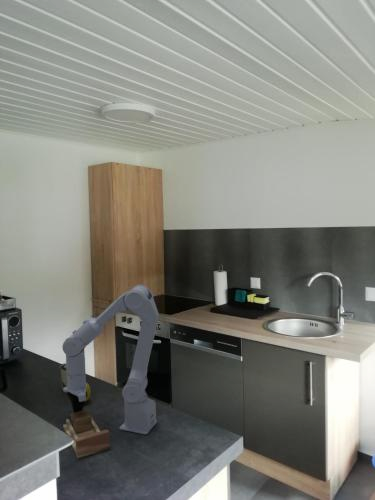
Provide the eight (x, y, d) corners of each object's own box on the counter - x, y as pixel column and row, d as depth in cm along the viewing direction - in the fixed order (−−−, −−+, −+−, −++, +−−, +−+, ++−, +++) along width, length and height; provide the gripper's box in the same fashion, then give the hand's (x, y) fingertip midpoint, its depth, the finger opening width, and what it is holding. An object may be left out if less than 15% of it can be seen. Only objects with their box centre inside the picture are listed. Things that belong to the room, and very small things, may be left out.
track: (63, 427, 119) (62, 412, 119) (91, 419, 124) (91, 404, 123) (77, 458, 103) (77, 441, 103) (109, 448, 108) (109, 431, 107)
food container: (92, 393, 142) (91, 367, 141) (77, 399, 138) (76, 372, 137) (75, 384, 151) (73, 359, 150) (60, 389, 146) (59, 364, 145)
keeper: (71, 426, 118) (71, 413, 118) (87, 421, 120) (87, 409, 120) (75, 433, 114) (74, 420, 113) (92, 428, 116) (91, 416, 116)
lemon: (84, 397, 139) (84, 376, 138) (94, 402, 135) (93, 380, 135) (71, 403, 134) (70, 382, 134) (81, 408, 131) (80, 386, 130)
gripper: (58, 367, 124) (60, 407, 125) (68, 383, 111) (70, 428, 112) (80, 363, 127) (81, 402, 128) (92, 378, 115) (93, 421, 116)
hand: (77, 413), depth 121 cm, fingers closed
